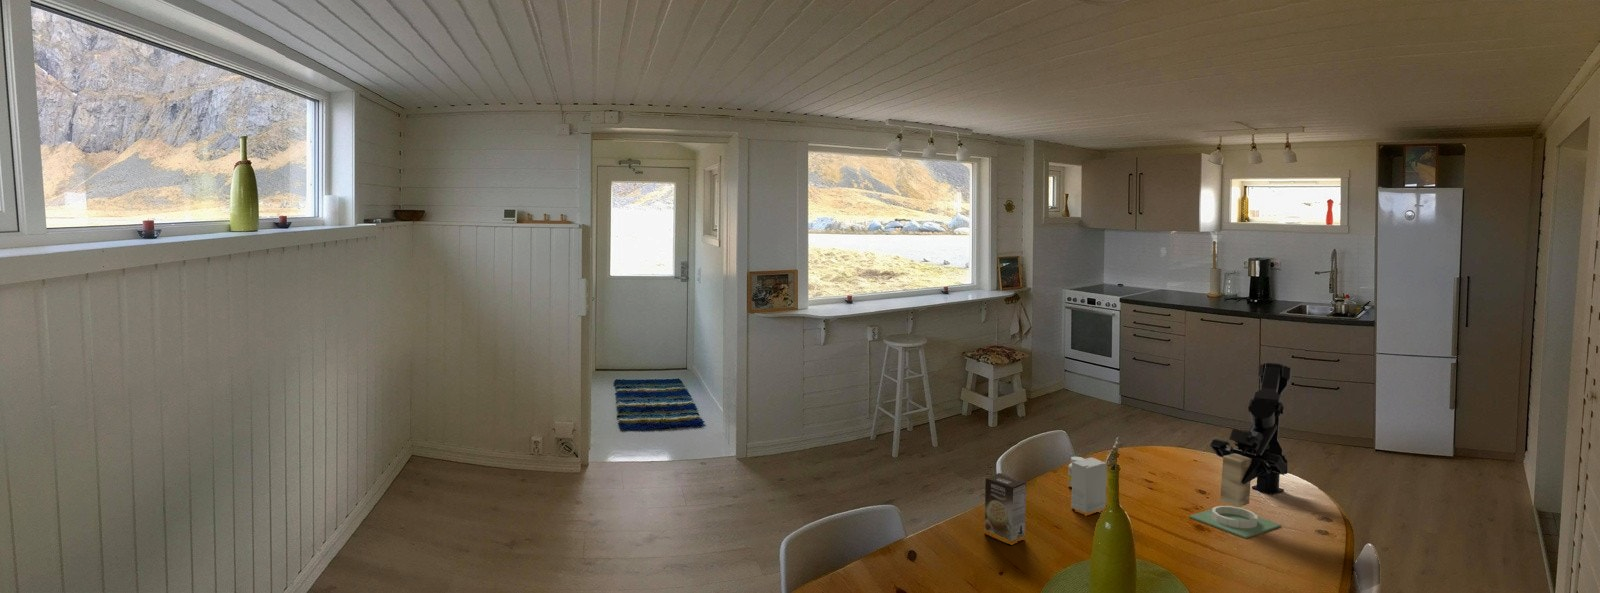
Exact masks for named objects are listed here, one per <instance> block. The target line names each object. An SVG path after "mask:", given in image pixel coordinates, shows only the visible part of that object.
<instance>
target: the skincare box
mask: <svg viewBox="0 0 1600 593" xmlns="http://www.w3.org/2000/svg"><path fill="white" fill-rule="evenodd" d="M1106 463H1107V462H1104V461H1102V460H1100V459H1097V458H1095V457H1088V458H1084V460H1080V461H1076V462H1072V489H1071V492H1070V493H1071V494H1070V495H1071V498H1070V499H1071V501H1070V503H1071V504H1070V506H1071V507H1073V508H1075V509H1077V510H1080V511H1082V512H1085V513H1090V512H1094V511H1096V510H1099V509H1101V508H1102V509H1101V510H1100V512H1099V513H1102V512H1101V511H1102V510H1103V509H1104V507H1105V506H1107V478H1108V477H1107V476H1108V474H1107V473H1108V469H1107V470H1106ZM1071 507H1070V508H1071Z"/></svg>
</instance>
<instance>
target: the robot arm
mask: <svg viewBox="0 0 1600 593" xmlns="http://www.w3.org/2000/svg"><path fill="white" fill-rule="evenodd" d="M1257 374H1258V375H1257V377H1258V378H1259V379H1260V384H1261V385H1260V389H1258V391H1255V392H1254V395H1253V398H1250V401H1249V403H1248V407H1247V408H1248V413H1249V414H1250V421H1251V422H1250V423H1251V425H1250V426H1249V427H1248V429H1247V430H1240V429H1238V428H1237V429H1236V428H1231V432H1230V436H1229V438H1228V440H1230V441H1233V442H1234V445H1235V447H1237V448H1235V447H1233V446H1231V444H1230V443H1229V441H1226V440H1222V439H1220V438H1213V439H1212V440H1211V442H1210V443H1209V447H1210V448H1211V449H1212V450H1213V453H1215V454H1216V456H1218V457H1220V458H1223V456H1226V455H1230V454H1234V453H1235V454H1238V455H1242V456H1245V457H1248V458H1251V459H1252V461H1251V466H1250V467H1249V469H1248V471H1247V472H1246V474H1245V476H1244V477H1243V480H1242V483H1243V484H1246V483H1248V482H1249V481H1251V482H1252V481H1253V480H1255V479H1256V484H1255V485H1253V486H1252V485H1251V489H1254V490H1256V491H1260V492H1263V493H1266V494H1269V495H1275V494H1279V493H1282V492H1284V491H1285V489H1284V488H1281V487H1280V475H1282V476H1285V475H1288V470H1289V469H1288V467H1289V464H1288V462H1289V461H1288V460H1287V458H1286V455H1284V449H1283V447H1282V446H1281V444H1280V442H1279V432H1280V420H1281V416H1282V415H1283V414H1284V412H1285V406H1284V403H1283V402H1282V394H1283V393H1284V392H1285V391H1286V390H1287V388H1288V387H1289V382H1291V380H1292V368H1291V367H1289V366H1287V365H1284V364H1282V363H1278V362H1276V363H1275V362H1264V363H1263V364H1259V365H1258V373H1257Z"/></svg>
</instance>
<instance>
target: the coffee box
mask: <svg viewBox="0 0 1600 593" xmlns="http://www.w3.org/2000/svg"><path fill="white" fill-rule="evenodd" d="M984 486H985V487H984V488H985V489H984V490H985V493H984V494H985V496H984V530H985V529H986V530H989V531H990V532H992V533H995V534H997V535H999V536H1001V537H1004V538H1006V539H1008V540H1010V541H1013V540H1015V539H1018V538H1020V537H1023V536H1026V510H1027V508H1026V507H1027V506H1026V504H1027V502H1026V500H1027V499H1026V498H1027V482H1026V481H1024V480H1021V479H1019V478H1015V477H1012V476H1009V475H1007V474H1004V473H1001V472H997V473H996V474H993V475H990V476H988V477H986V478H985V484H984Z"/></svg>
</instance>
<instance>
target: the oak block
mask: <svg viewBox="0 0 1600 593" xmlns="http://www.w3.org/2000/svg"><path fill="white" fill-rule="evenodd" d="M1251 461H1252V459H1251V458H1248V457H1245V456H1242V455H1238V454H1235V453H1234V454H1230V455H1226V456H1223V457H1222V469H1221V470H1222V472H1221V484H1220V486H1221V487H1220V496H1219V497H1220V499H1219V501H1220V502H1223V503H1225V504H1228V505H1229V506H1233V507H1239V508H1242V507H1243V506H1247V505H1249V504H1250V497H1251V496H1250V494H1251V483H1252V480H1251V481H1249V482H1248V483H1246V484H1243V483H1242V480H1243V477H1244V476H1245V474H1246V472H1247V471H1248V469H1249V467H1250V466H1251Z"/></svg>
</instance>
